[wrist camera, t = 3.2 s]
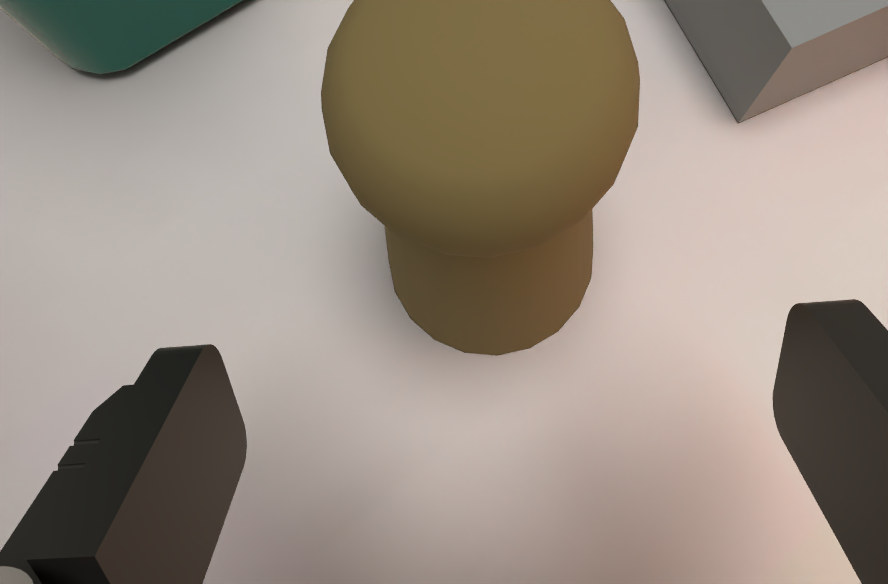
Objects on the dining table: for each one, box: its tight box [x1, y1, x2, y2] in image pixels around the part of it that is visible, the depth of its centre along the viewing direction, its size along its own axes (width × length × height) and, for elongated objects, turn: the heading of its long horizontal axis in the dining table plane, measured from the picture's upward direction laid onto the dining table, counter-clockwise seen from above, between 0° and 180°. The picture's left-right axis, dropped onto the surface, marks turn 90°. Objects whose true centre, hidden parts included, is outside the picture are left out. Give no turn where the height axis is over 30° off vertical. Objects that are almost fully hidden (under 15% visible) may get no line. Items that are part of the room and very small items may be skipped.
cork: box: [321, 0, 640, 355], centre depth 15 cm, size 6×6×11 cm
